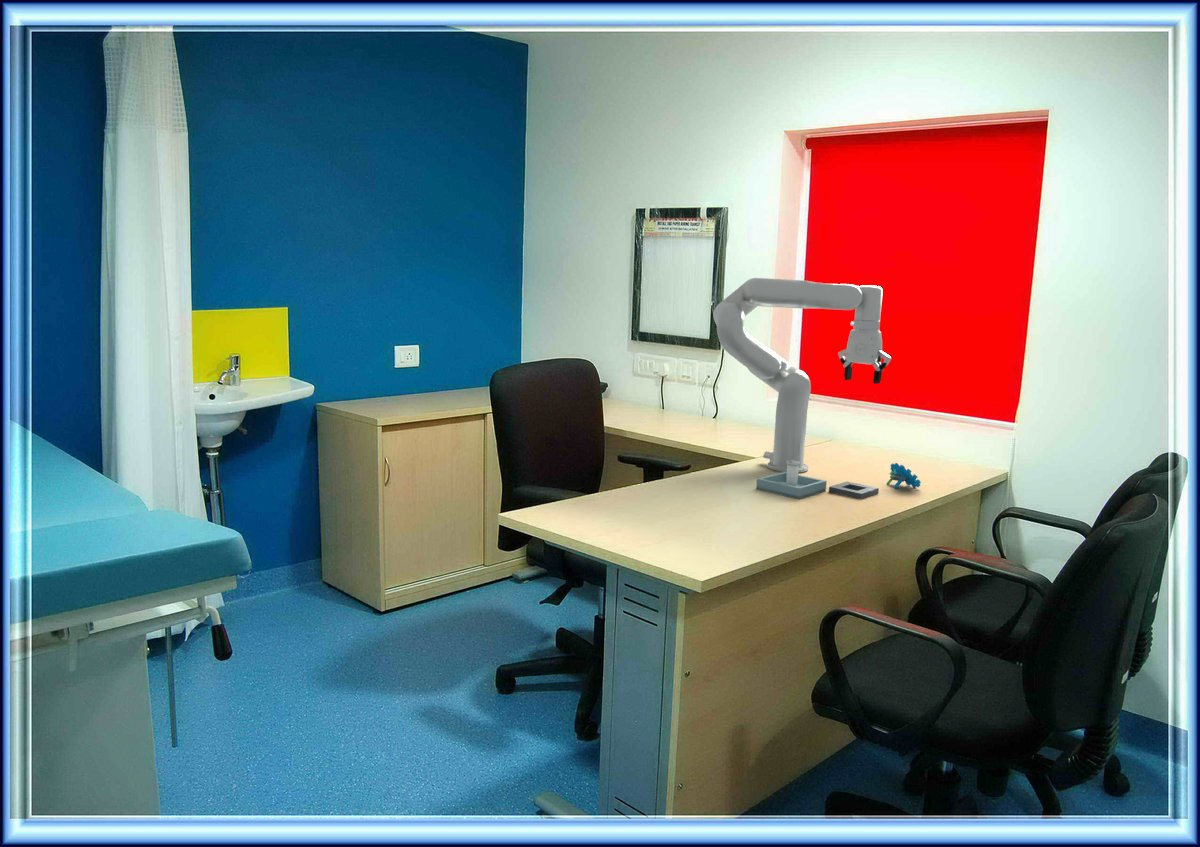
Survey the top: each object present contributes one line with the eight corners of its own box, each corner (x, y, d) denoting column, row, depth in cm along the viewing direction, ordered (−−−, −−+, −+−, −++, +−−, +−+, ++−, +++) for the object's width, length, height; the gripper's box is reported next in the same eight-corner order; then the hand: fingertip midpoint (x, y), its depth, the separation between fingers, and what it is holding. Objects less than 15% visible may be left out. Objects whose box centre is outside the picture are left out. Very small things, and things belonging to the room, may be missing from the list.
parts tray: (756, 489, 255) (757, 478, 254) (783, 481, 265) (784, 471, 264) (798, 499, 245) (799, 488, 245) (825, 491, 255) (826, 480, 254)
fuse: (782, 487, 255) (784, 461, 253) (789, 485, 257) (791, 459, 256) (793, 489, 252) (795, 463, 251) (800, 487, 255) (802, 461, 253)
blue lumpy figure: (928, 486, 258) (907, 462, 256) (915, 501, 257) (894, 477, 255) (905, 482, 269) (884, 459, 266) (892, 496, 268) (872, 474, 265)
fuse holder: (828, 491, 254) (829, 486, 254) (846, 486, 261) (847, 481, 261) (860, 498, 247) (861, 493, 247) (878, 493, 254) (878, 488, 254)
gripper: (835, 324, 278) (830, 379, 281) (887, 328, 266) (882, 385, 269) (847, 324, 283) (843, 377, 286) (899, 328, 271) (893, 384, 274)
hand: (862, 381), depth 277 cm, fingers open, 9 cm apart
